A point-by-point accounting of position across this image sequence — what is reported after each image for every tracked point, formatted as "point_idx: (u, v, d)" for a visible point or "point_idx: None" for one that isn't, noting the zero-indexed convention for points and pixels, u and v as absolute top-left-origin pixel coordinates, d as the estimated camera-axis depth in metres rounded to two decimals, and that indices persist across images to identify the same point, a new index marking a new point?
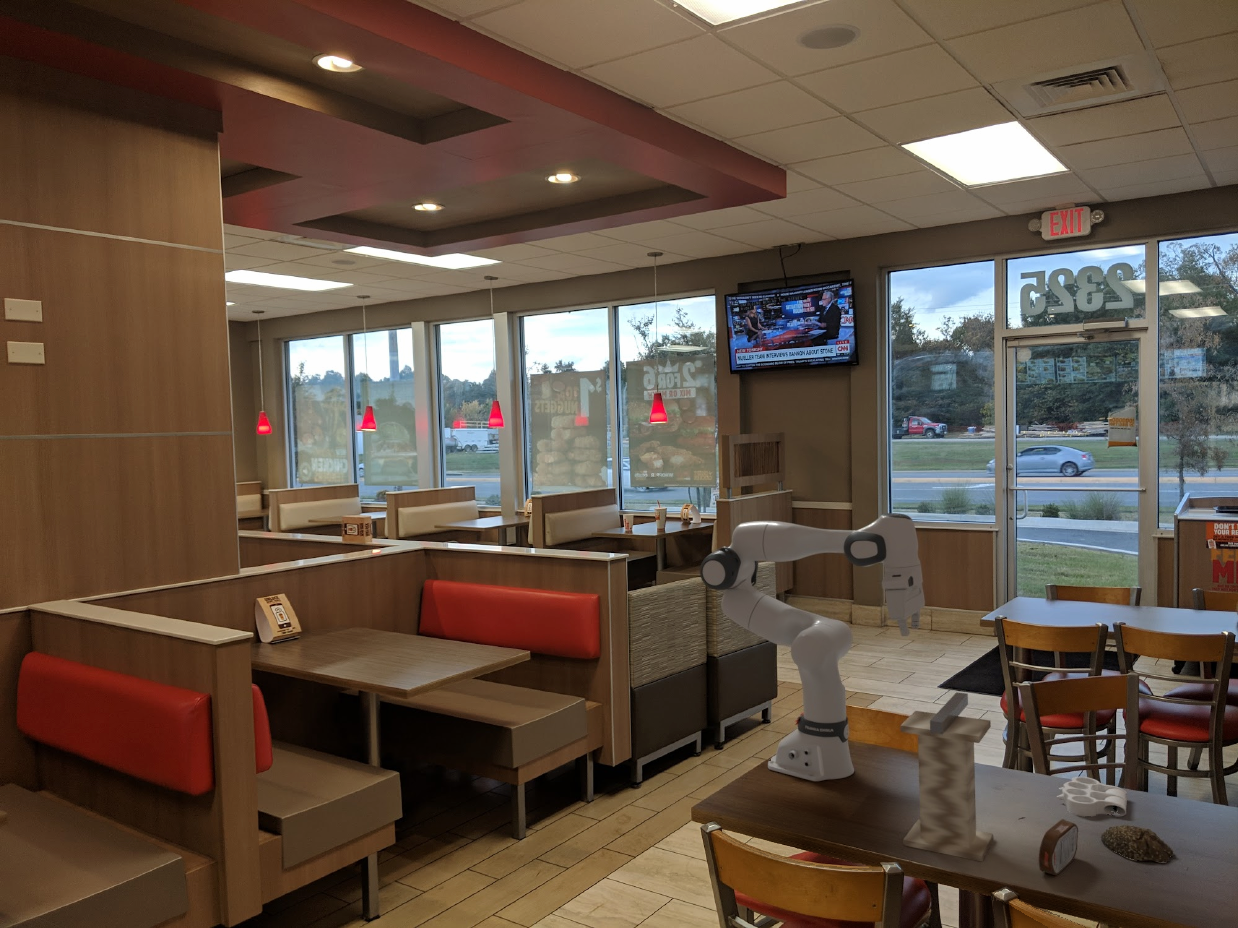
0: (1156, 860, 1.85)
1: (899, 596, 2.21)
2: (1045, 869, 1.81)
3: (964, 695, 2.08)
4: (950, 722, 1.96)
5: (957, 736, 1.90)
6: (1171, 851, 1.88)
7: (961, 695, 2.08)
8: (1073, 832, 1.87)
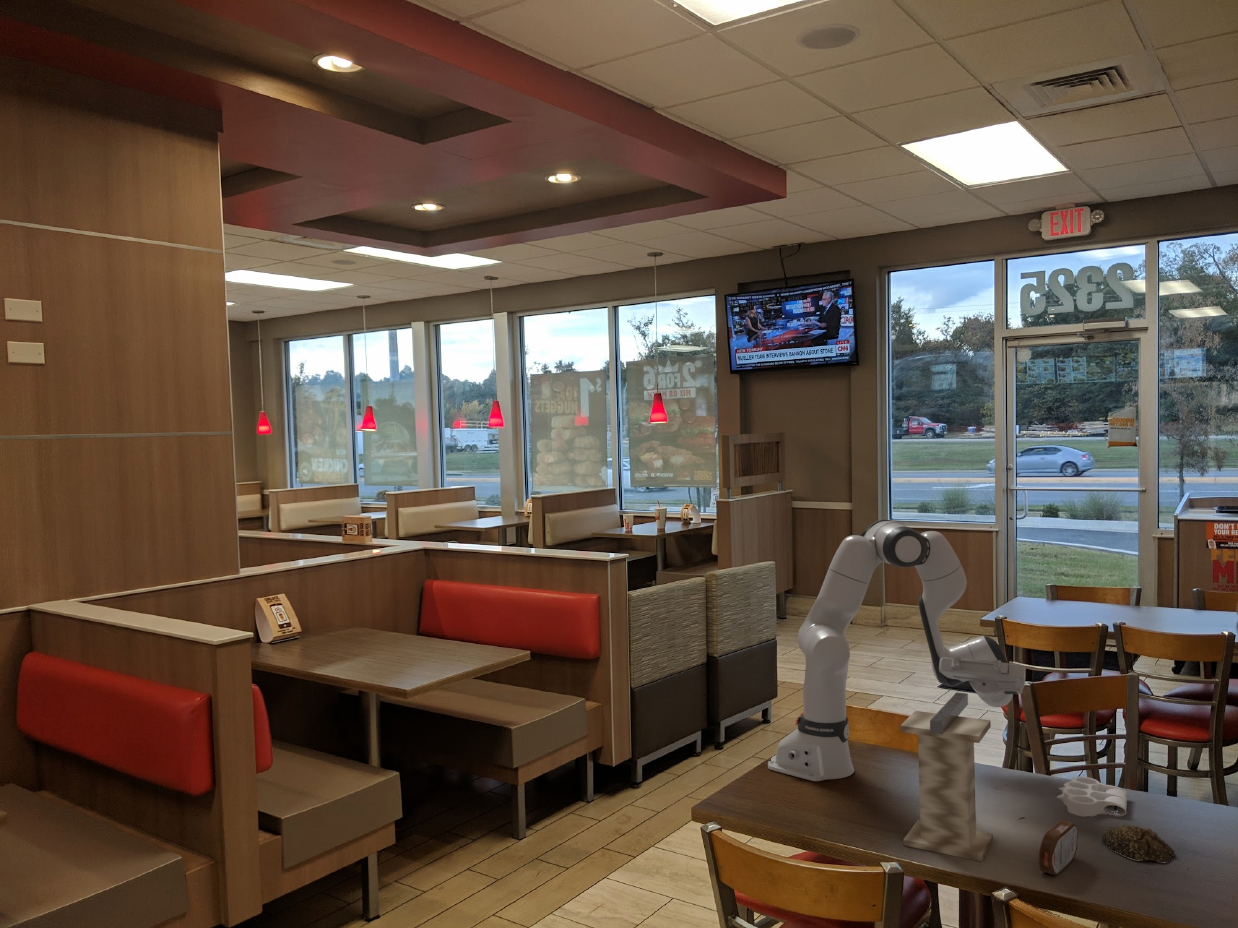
0: (1157, 860, 1.85)
1: None
2: (1045, 869, 1.81)
3: (964, 695, 2.08)
4: (950, 722, 1.96)
5: (957, 736, 1.90)
6: (1172, 851, 1.87)
7: (961, 695, 2.08)
8: (1073, 832, 1.87)
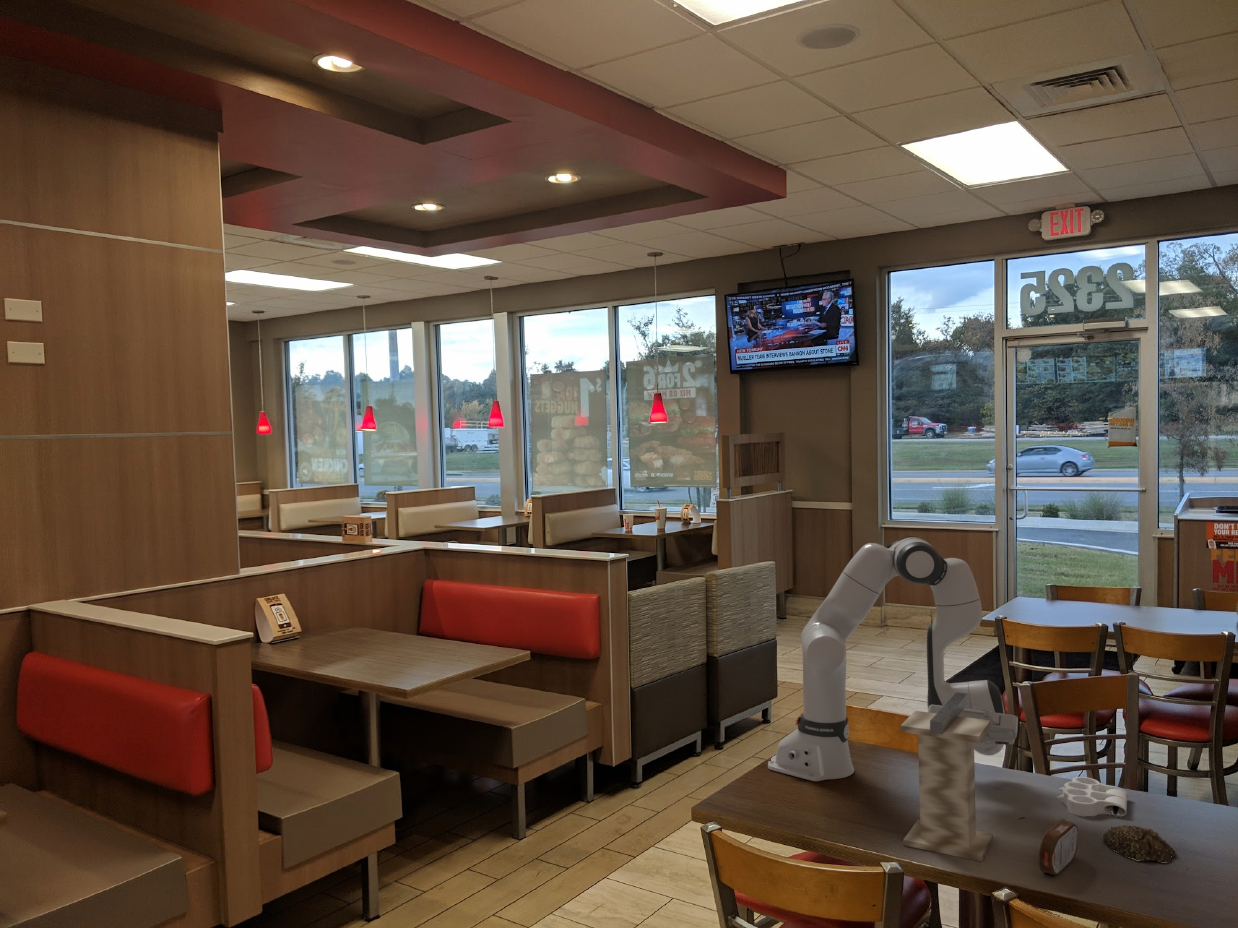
0: (1158, 860, 1.85)
1: None
2: (1045, 869, 1.81)
3: (964, 695, 2.08)
4: (950, 722, 1.96)
5: (957, 736, 1.90)
6: (1173, 851, 1.87)
7: (961, 695, 2.08)
8: (1073, 832, 1.87)
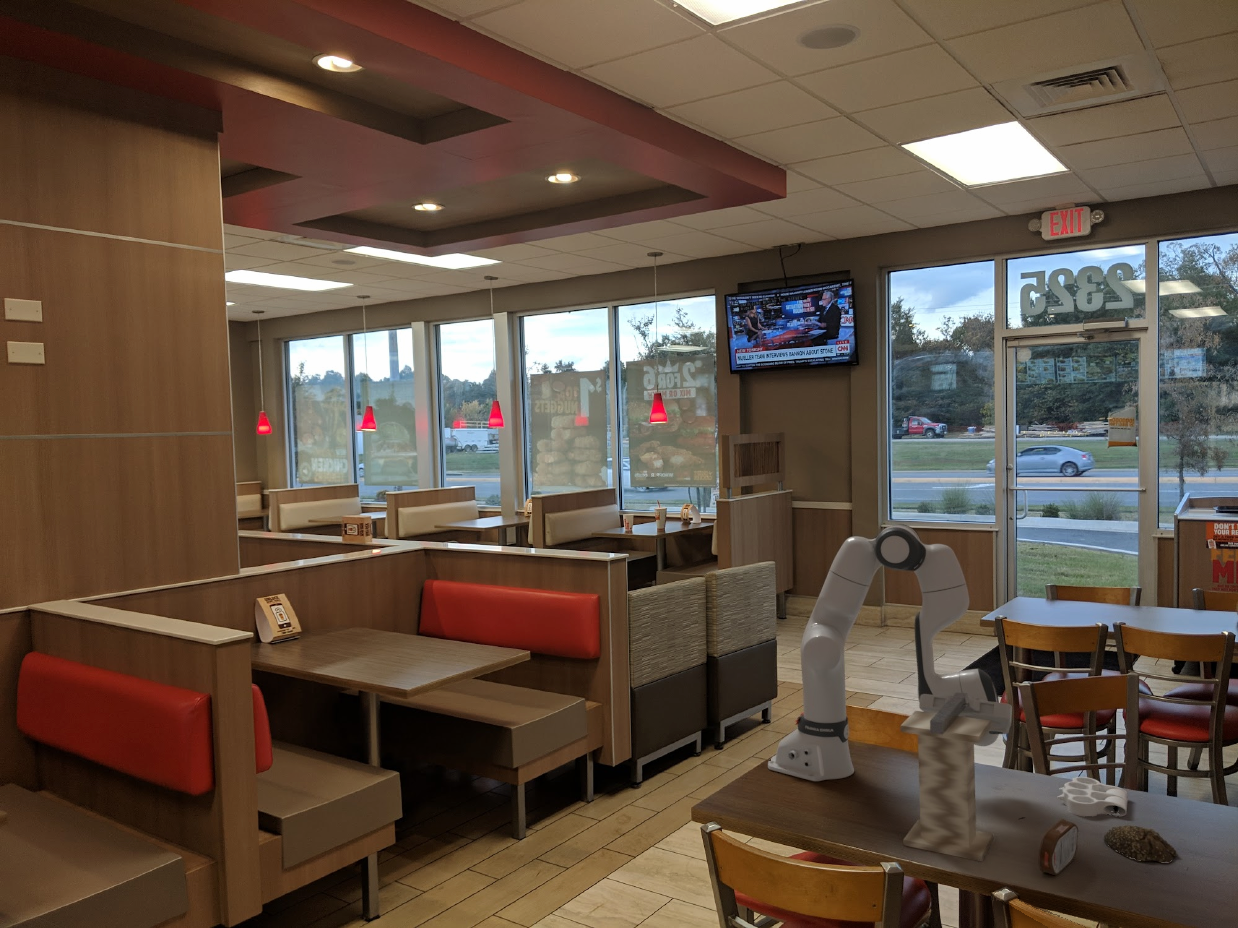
0: (1159, 860, 1.85)
1: None
2: (1045, 869, 1.81)
3: (964, 695, 2.08)
4: (950, 722, 1.96)
5: (957, 736, 1.90)
6: (1174, 851, 1.87)
7: (961, 695, 2.08)
8: (1073, 832, 1.87)
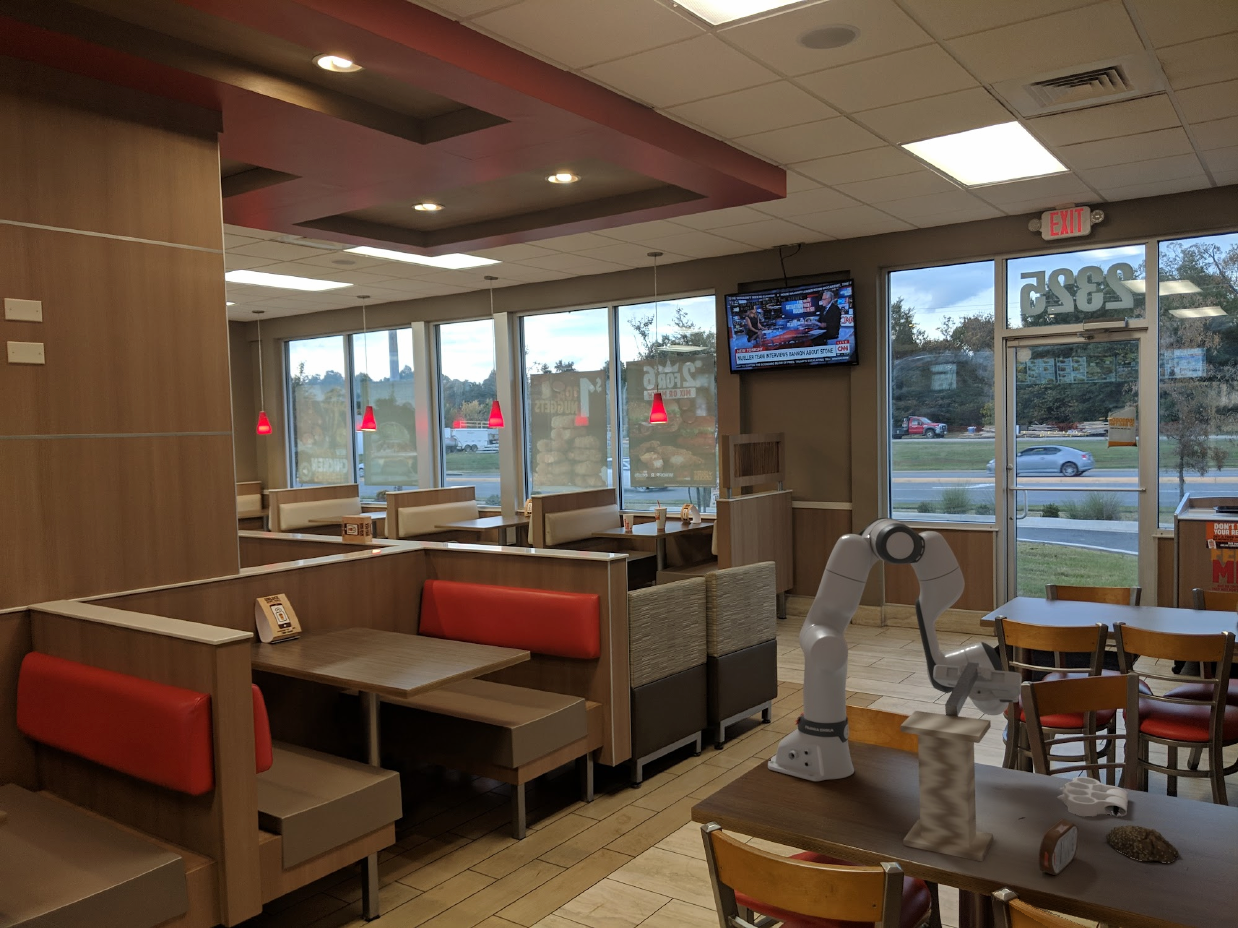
0: (1161, 860, 1.85)
1: None
2: (1045, 869, 1.81)
3: (976, 666, 2.19)
4: (964, 700, 2.07)
5: (957, 736, 1.90)
6: (1176, 851, 1.87)
7: (973, 666, 2.19)
8: (1073, 832, 1.87)
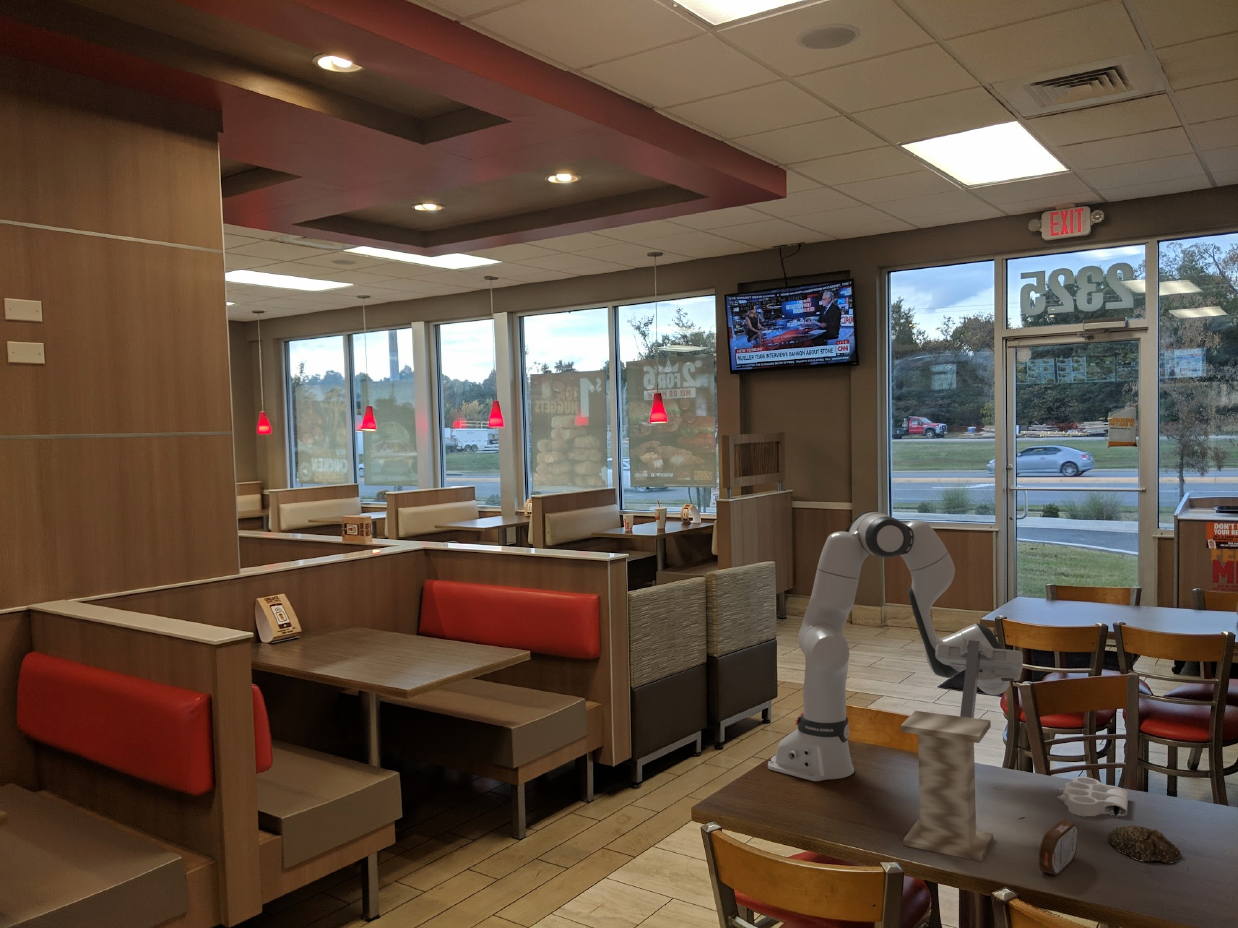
0: (1163, 861, 1.85)
1: None
2: (1045, 869, 1.81)
3: (977, 647, 2.21)
4: (973, 711, 2.15)
5: (957, 736, 1.90)
6: (1178, 851, 1.87)
7: (975, 648, 2.21)
8: (1073, 832, 1.87)
